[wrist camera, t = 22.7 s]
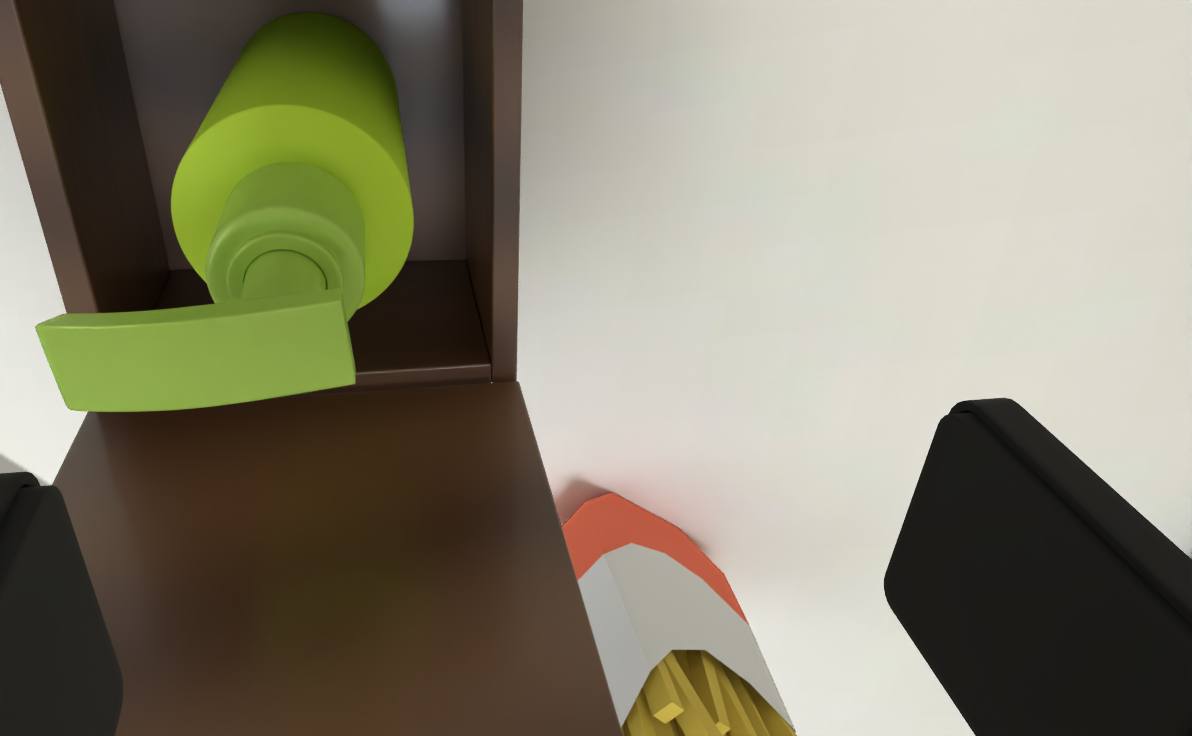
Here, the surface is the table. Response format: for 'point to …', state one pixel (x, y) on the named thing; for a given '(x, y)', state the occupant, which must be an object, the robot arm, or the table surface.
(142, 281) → the chest
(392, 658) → the lid
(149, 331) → the soap dispenser
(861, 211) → the table surface
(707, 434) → the table surface
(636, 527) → the french fries container
